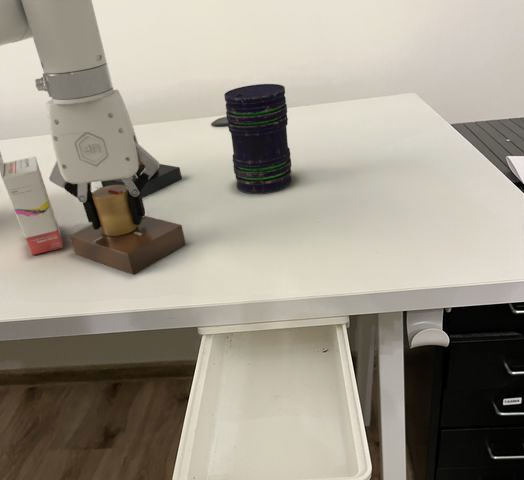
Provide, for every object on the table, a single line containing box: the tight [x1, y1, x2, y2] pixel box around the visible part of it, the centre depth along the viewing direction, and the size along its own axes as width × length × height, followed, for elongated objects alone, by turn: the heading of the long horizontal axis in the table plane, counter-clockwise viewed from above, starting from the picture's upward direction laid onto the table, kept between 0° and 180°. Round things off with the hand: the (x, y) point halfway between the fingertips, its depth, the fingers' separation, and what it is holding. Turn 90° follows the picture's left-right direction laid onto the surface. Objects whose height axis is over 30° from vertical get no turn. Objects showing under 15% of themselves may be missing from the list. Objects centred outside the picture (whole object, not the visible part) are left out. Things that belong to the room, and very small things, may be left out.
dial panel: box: [69, 215, 186, 275], centre depth 79 cm, size 13×10×3 cm
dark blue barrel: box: [223, 83, 293, 195], centre depth 91 cm, size 10×10×15 cm
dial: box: [92, 185, 138, 236], centre depth 77 cm, size 5×5×6 cm
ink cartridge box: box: [0, 151, 64, 256], centre depth 81 cm, size 9×5×15 cm, turn 22°
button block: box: [100, 163, 183, 198], centre depth 101 cm, size 11×10×4 cm
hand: (118, 222), depth 78 cm, fingers closed on dial, 5 cm apart
